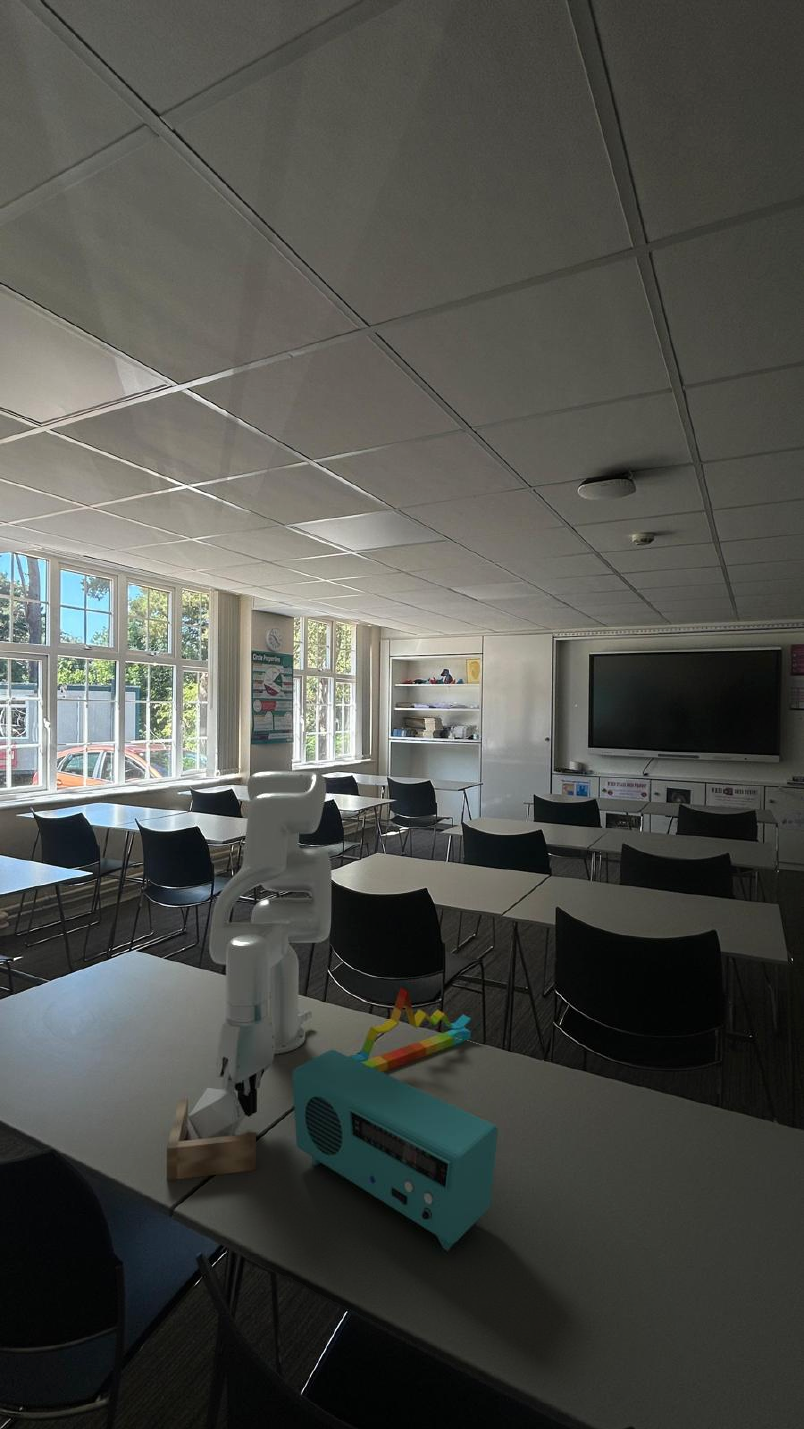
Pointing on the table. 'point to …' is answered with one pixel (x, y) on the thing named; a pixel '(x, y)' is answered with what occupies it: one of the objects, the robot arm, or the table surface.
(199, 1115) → the die
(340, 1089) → the radio
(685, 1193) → the table surface
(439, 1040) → the chart
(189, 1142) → the bracket
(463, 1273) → the table surface
